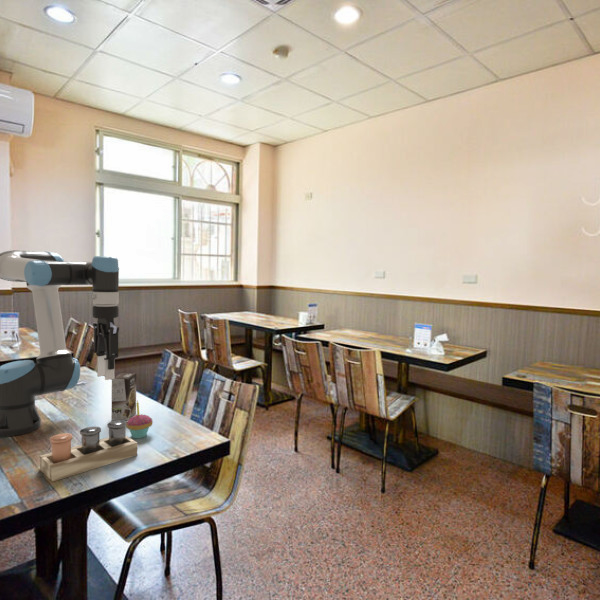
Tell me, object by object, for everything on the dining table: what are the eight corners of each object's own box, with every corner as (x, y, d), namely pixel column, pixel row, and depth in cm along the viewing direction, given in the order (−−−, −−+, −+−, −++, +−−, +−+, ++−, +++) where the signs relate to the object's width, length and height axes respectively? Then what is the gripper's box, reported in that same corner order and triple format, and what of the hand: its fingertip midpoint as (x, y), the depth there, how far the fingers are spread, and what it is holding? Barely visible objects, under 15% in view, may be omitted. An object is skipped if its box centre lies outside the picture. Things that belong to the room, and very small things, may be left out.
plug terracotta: (47, 459, 121) (46, 437, 121) (68, 453, 125) (68, 431, 125) (54, 466, 117) (53, 442, 117) (75, 459, 121) (75, 437, 121)
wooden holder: (40, 469, 122) (39, 455, 122) (122, 445, 140) (122, 433, 139) (52, 481, 115) (52, 467, 115) (137, 455, 133) (137, 442, 133)
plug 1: (77, 451, 127) (76, 429, 126) (96, 446, 131) (96, 425, 131) (84, 457, 123) (84, 435, 123) (104, 451, 127) (104, 430, 127)
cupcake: (122, 434, 148) (122, 401, 147) (146, 429, 154) (146, 396, 153) (132, 442, 142) (132, 407, 141) (156, 436, 148) (157, 402, 147)
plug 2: (104, 443, 133) (104, 423, 132) (121, 438, 137) (121, 418, 137) (112, 449, 129) (112, 428, 129) (130, 444, 133) (130, 423, 133)
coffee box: (127, 420, 162) (127, 378, 161) (110, 420, 162) (110, 378, 161) (136, 412, 171) (137, 372, 170) (120, 412, 171) (120, 372, 170)
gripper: (81, 303, 139) (82, 374, 140) (106, 308, 127) (106, 385, 128) (105, 302, 144) (105, 370, 146) (130, 306, 132) (130, 380, 134)
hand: (105, 377), depth 137 cm, fingers open, 5 cm apart
